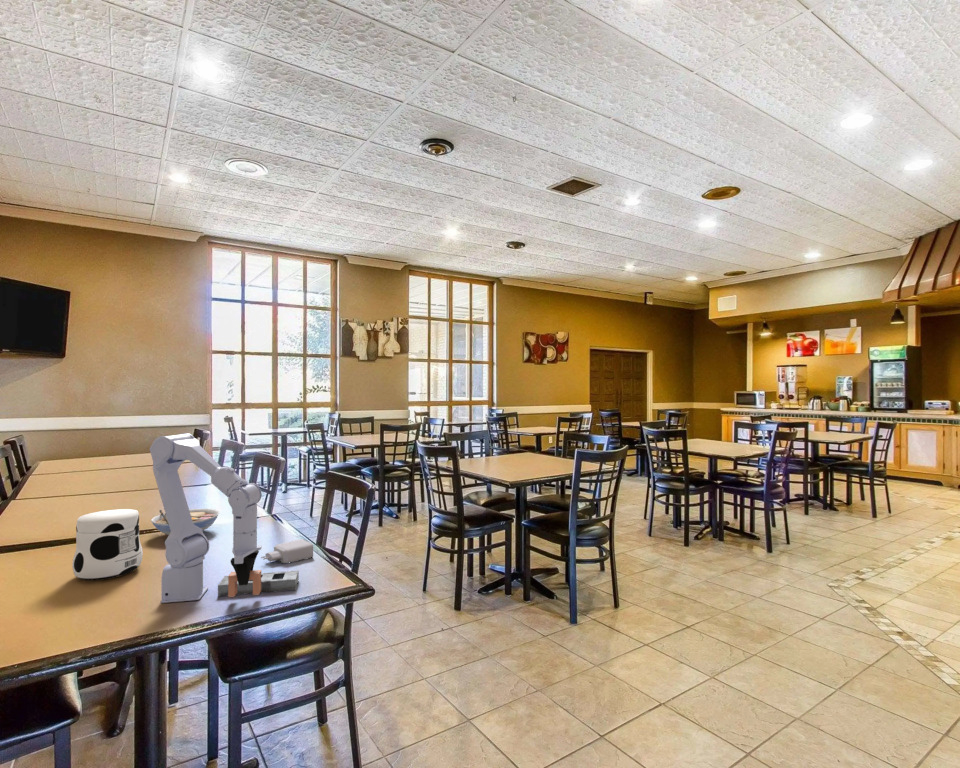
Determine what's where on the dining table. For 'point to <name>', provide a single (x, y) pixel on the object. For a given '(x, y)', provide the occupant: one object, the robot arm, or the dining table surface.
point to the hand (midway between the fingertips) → (244, 582)
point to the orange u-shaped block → (254, 576)
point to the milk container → (107, 544)
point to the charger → (291, 551)
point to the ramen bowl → (199, 517)
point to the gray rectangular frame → (264, 583)
